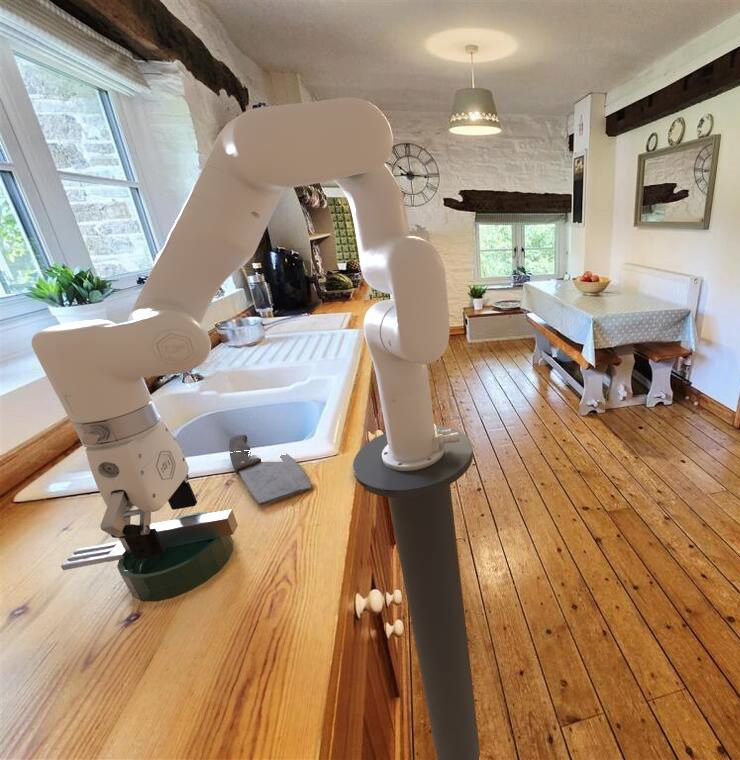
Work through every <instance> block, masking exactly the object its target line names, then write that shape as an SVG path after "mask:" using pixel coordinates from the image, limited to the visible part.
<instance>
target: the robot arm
mask: <svg viewBox="0 0 740 760" xmlns="http://www.w3.org/2000/svg"><path fill="white" fill-rule="evenodd" d="M393 146H394V137H393V131H392V127H391V126H390V123H389V121H388V119H387V117H386V116H385V114H383V112H382V111H381V110H380V109H379V108H378V107H377V106H376V105H374V104H373V103H371V102H369V101H368V100H365V99H363V98H359V97H351V96H350V97H349V96H347V97H339V98H338V97H337V98H331V99H322V100H315V101H306V102H299V103H298V102H297V103H287V104H279V105H277V104H275V105H267V106H260V107H259V106H258V107H255V108H250V109H248V110H247V109H246V110H245V111H243V112H242V113H240V114H239V115H237V116H236V117H235V118H233V119H232V120H230V121H229V122H227V123H226V124H225V125H224V127H223V128H222V129H221V131H220V132H219V134H218V135H217V137H216V139H215V141H214V143H213V145H212V147H211V149H210V151H209V153H208V156H207V157H206V160H205V162H204V164H203V166H202V167H201V170H200V172H199V174H198V176H197V179H196V181H195V183H194V184H193V187H192V188H191V191H190V193H189V194H188V197H187V199H186V201H185V202H184V205H183V207H182V209H181V211H180V213H179V215H178V217H177V218H176V220H175V223H174V224H173V226H172V228H171V230H170V232H169V234H168V236H167V239H166V241H165V244H164V245H163V248H162V249H161V252H160V254H159V255H158V257H157V259H156V260H155V262H154V264H153V266H152V267H151V270H150V272H149V274H148V276H147V278H146V280H145V282H144V284H143V286H142V288H141V290H140V292H139V293H138V296H137V299H136V300H135V303H134V305H133V306H132V308H131V310H130V313H129V315H128V318H127V322H122V323H116V322H113V321H111V320H104V319H91V320H80V321H74V322H67V323H62V324H58V325H53V326H50V327H47V328H44V329H42V330H39V331H37V332H36V333H35V334H34V335H33V336H32V338H31V347H32V350H33V352H34V354H35V355H36V358H37V360H38V362H39V364H40V365H41V368H42V369H43V371H44V373H45V375H46V377H47V380H48V381H49V383H50V385H51V386H52V389H53V390H54V392H55V394H56V396H57V398H58V399H59V402H60V403H61V406H62V408H63V410H64V411H65V413H66V415H67V417H68V420H69V421H70V423H71V425H72V427H73V428H74V431H75V433H76V435H77V436H78V438H79V440H80V442H81V444H82V446H83V447H84V448H85V453H86V457H87V461H88V465H89V468H90V472H91V474H92V477H93V479H94V482H95V484H96V487H97V489H98V492H99V494H100V496H101V498H102V500H103V502H104V504H105V506H106V509H105V512H104V515H103V518H102V520H101V523H100V525H99V526H100V527H99V528H100V530H101V531H103V532H105V533H106V534H108V535H110V536H111V538H114V539H118V540H119V539H125V541H126V543H127V545H128V546H129V548H130V550H131V552H132V554H133V556H134V558H135V559H137V560H140V559H145V558H150V557H155V556H159V555H163V554H164V552H165V550H166V549H165V547H164V545H163V543H162V541H161V539H160V537H159V535H158V533H157V531H156V529H155V528H151V529H150V524H152V522H151V520H152V513H155V512H158V511H160V510H161V509H162V508H163V507H164V506H165V505H166V504H167V503H169V506H170V509H171V510H173V511H175V510H176V511H177V510H181V509H186V508H191V507H192V508H193V507H195V506H196V505H197V504H198V500H197V498H196V496H195V493H194V490H193V489H192V486H191V484H190V482H189V480H190V475H189V470H190V468H189V464H188V462H187V460H186V457H185V454H184V450H183V446H181V445H179V443H178V442H177V439H176V438H175V436H174V434H173V432H172V431H171V429H170V427H169V426H168V424H167V423H166V422H165V420H164V419H163V418H162V416H161V415H160V414H159V412H158V409H157V407H156V405H155V402H154V400H153V398H152V396H151V393H150V390H149V389H148V386H147V384H146V381H145V379H144V378H152V377H163V376H172V375H179V374H183V373H186V372H190V371H193V370H194V369H197V368H198V367H200V366H202V364H204V363H205V362H206V361H207V360H208V358H209V356H210V354H211V350H212V340H211V337H210V335H209V333H208V331H207V329H206V328H205V327H204V326H203V325H202V322H203V320H204V318H205V316H206V313H207V312H208V309H209V308H210V305H211V304H212V302H213V300H214V298H215V296H216V294H217V293H218V291H219V290H220V288H221V287H222V285H224V283H225V282H226V281H227V280H228V279H229V278H230V277H231V276H232V275H233V274H235V273H236V272H237V271H239V270H240V269H242V268H243V267H244V266H245V265H246V264H247V263H249V261H250V260H251V259H252V258H253V256H254V255H255V254H256V251H257V249H258V247H259V245H260V243H261V240H262V238H263V236H264V234H265V231H266V230H267V227H268V225H269V223H270V221H271V219H272V217H273V215H274V212H275V210H276V208H277V207H278V205H279V203H280V200H281V198H282V196H283V194H284V192H285V191H286V190H288V189H292V188H299V187H304V186H310V185H316V184H320V183H326V182H331V181H333V182H335V184H336V185H337V186H338V187H339V189H340V190H341V191H342V192H343V194H344V195H345V197H346V199H347V203H348V205H349V208H350V211H351V215H352V220H353V225H354V231H355V237H356V244H357V251H358V257H359V258H358V259H359V265H360V271H361V275H362V278H363V281H364V282H365V283H366V284H367V285H368V286H369V287H370V288H372V289H373V290H375V291H377V292H380V293H383V294H388V295H392V299H390V298H388V299H382V300H380V301H377V302H376V303H374V304H372V305H371V307H369V309H368V310H367V311H366V313H365V316H364V319H363V325H362V326H363V335H364V339H365V342H366V345H367V348H368V352H369V354H370V358H371V360H372V364H373V368H374V372H375V377H376V384H377V388H378V395H379V401H380V405H381V406H380V407H381V411H382V417H383V423H384V428H385V433H386V435H387V441H388V445H387V446H386V447H385V448H384V450H383V452H382V459H383V462H384V464H385V465H386V466H388V467H389V468H392V469H395V470H400V471H412V470H418V469H422V468H425V467H428V466H430V465H432V464H434V463H435V462H437V461H438V460H439V459H440V458H441V457H442V456H443V454H444V452H445V446H444V444H447V443H455V442H459V435H458V433H452V434H451V429H448V430H444V431H439V430H436V425H437V424H435V418H434V410H433V403H432V395H431V387H430V386H431V385H430V376H429V370H428V365H429V364H432V363H435V362H437V361H438V360H439V359H440V358H441V357H442V356H443V355H444V354H445V352H446V350H447V348H448V345H449V342H450V334H451V333H450V331H451V330H450V329H451V328H450V327H451V326H450V313H449V312H450V311H449V300H448V299H449V298H448V297H449V296H448V286H447V285H448V284H447V276H446V269H445V265H444V262H443V260H442V257H441V255H440V254H439V251H438V250H437V248H436V247H435V246H434V245H433V244H432V243H430V242H429V241H428V240H426V239H424V238H421V237H419V236H413V235H411V233H410V228H409V220H408V215H407V209H406V203H405V198H404V195H403V192H402V189H401V187H400V185H399V183H398V181H397V179H396V177H395V175H394V174H393V172H392V170H390V169H389V167H388V166H387V164H386V163H387V162H388V160H389V159H390V157H391V154H392V152H393ZM134 507H136V508H137V509H133V508H134ZM135 516H139V523H138V524H132V523H131V520H132V519H131V517H135Z"/></svg>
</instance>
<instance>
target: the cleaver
mask: <svg viewBox="0 0 740 760" xmlns="http://www.w3.org/2000/svg"><path fill="white" fill-rule="evenodd" d="M247 442H248V436H247V435H246V434H240V435H235V436H232V437H231V438H230V439H229V443H228V451H229V457H230V462H231V466H232V468H233V470H234V472H235V474H236V475H237V476H240V479H241V480H242V482H243V485H244V486H245V489H246V490H247V492H248V494H249V495H250V496H251V498H252V499H253V501H254V502H256V503H257V504H258V506H259V507H263V506H266V505H269V504H272V503H275V502H278V501H281V500H284V499H287V498H291V497H293V496H296V495H299V494H301V493H304V492H305V491H308V490H309V489H311V488H312V484H311V482H310V480H309V477H308V476H307V474H306V473H305V471H304V470H303V468H302V467H301V465H300V464H299V463H298V462H297V461H296V460H295V459H294V458H293V457H292V456H291V455H289V454H288V453H287V454H286V455H281V456H280V458H281V459H282V461H283V462H261V458H260V457H251V454H252V451H251V452H250V455H249V457H248V454H249V453H248V452H249V451H244V450H251V448H250V446H249V445H248V444H247ZM234 451H235V452H234ZM236 451H241V452H236ZM230 452H233V453H230Z"/></svg>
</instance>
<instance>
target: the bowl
mask: <svg viewBox="0 0 740 760" xmlns="http://www.w3.org/2000/svg"><path fill="white" fill-rule="evenodd" d="M210 513H213V512H211V511H210V512H209V511H201V512H200V511H199V512H193V513H187V514H184V515H181V516H178V517H175V518H171V519H169V520H168V521H172V520H177V519H183V518H188V517H194V516H199V515H205V514H210ZM234 546H235V545H234V540H233V537H232V535H229V536H224V537H219V538H213V539H208V540H203V541H198V542H193V543H188V544H183V545H178V546H173V547H168V548H165V549H166V550H165V552H164V554H163V555H159V556H155V557H150V558H145V559H140V560H137V559H135V558H134V556H133V554H132V555H127V556H126V558H125V559H121V560H118V562H117V566H116V568H117V570H118V573H119V574H120V576H121V578H122V580H123V582H124V583H125V585H126V587H127V589H128V590H129V592H130V594H131V596H132V597H133V598H134V599H136V600H138V601H140V602H144V603H145V602H147V603H149V602H150V603H151V602H152V603H157V602H161V601H166V600H170V599H175V598H177V597H179V596H182V595H184V594H187V593H189V592H191V591H193V590H195V589H197V588H198V587H200V586H202V585H204V584H205V583H207V582H208V581H209V580H210V579H212V578H213V577H215V576H216V575H217V574H218V573H220V571H222V570H223V568H224V567H225V566H226V565H227V563H228V562H229V561H230V559H231V557H232V555H233V552H234V550H235V548H234Z"/></svg>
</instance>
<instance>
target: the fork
mask: <svg viewBox="0 0 740 760" xmlns="http://www.w3.org/2000/svg"><path fill="white" fill-rule="evenodd" d="M171 520H172V519H171ZM151 528H155V529H156V531H157V533H158V535H159V537H160V539H161V541H162V543H163V545H164V547H165V548H168V547H173V546H178V545H183V544H188V543H193V542H198V541H203V540H208V539H213V538H219V537H224V536H229V535H231V536H233V535H234V534H235V532H236V530H237V528H238V522H237V519H236V516H235V513H234V511H233V509H227V510H221V511H216V512H212V513H210V514H205V515H199V516H194V517H188V518H183V519H177V520H172V521H169V520H167V521H161V522H156V523H151V524H150V529H151ZM127 555H132V552H131V550H130V548H129V546H128V545H127V543H126V541H125V539H119V538H118V541H114V542H109V543H103V544H98V545H92V546H87V547H83V548H77V549H75V550H74V551H73V555H69V557H68V558H67V559H66V560H67V562H63V563H62V564H61V565H60V568H61V569H62V571H67V570H68V571H69V570H72V569H78V568H84V567H89V566H93V565H97V564H102V563H103V564H104V563H111V562H115V561H119V560H121V559H125V558H126V556H127Z"/></svg>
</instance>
